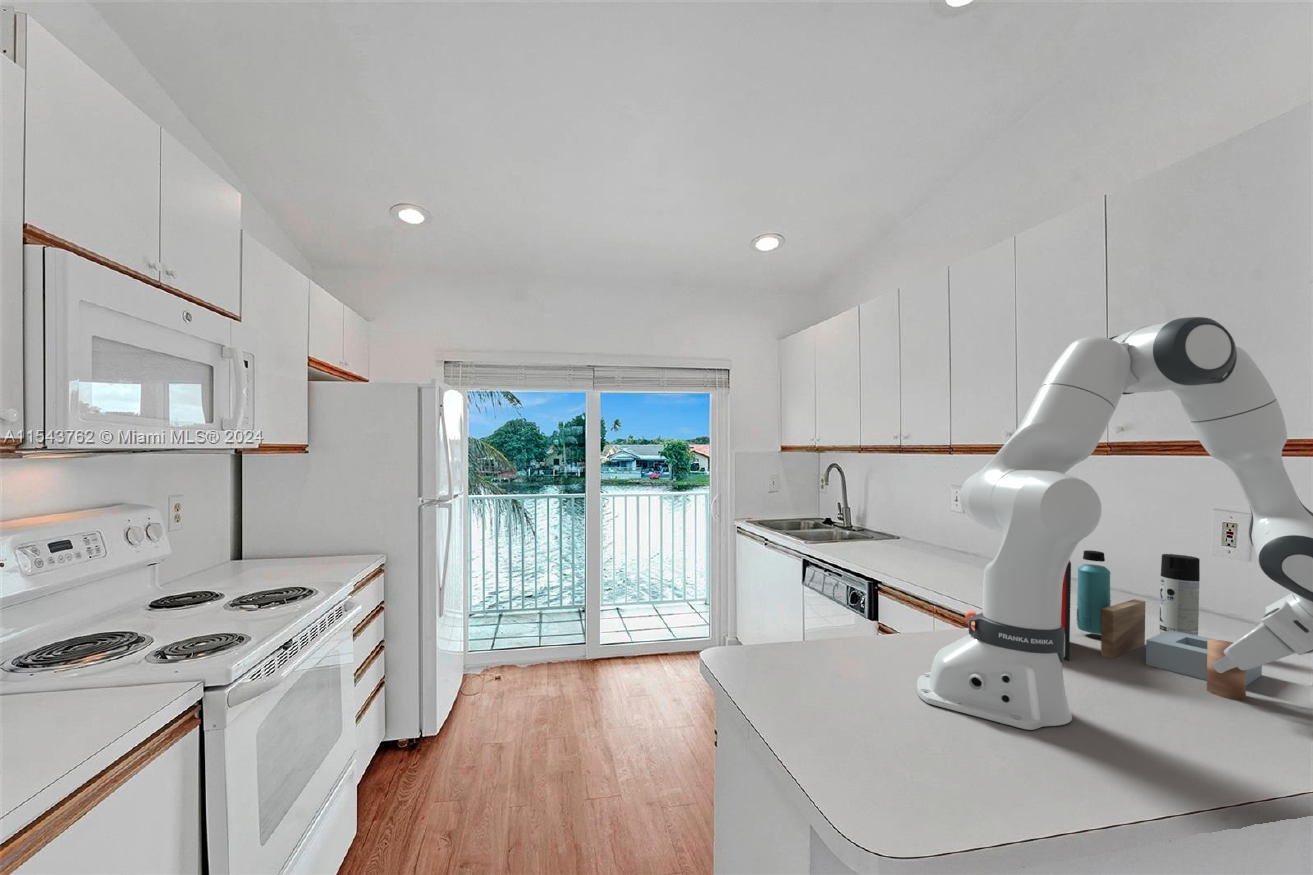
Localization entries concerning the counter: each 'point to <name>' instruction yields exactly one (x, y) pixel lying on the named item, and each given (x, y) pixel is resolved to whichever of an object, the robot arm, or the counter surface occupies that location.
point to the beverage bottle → (1092, 593)
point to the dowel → (1224, 674)
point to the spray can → (1179, 594)
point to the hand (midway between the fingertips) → (1221, 665)
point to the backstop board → (1122, 628)
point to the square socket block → (1184, 655)
